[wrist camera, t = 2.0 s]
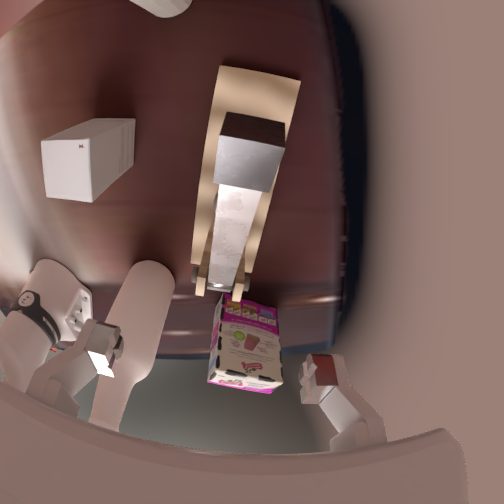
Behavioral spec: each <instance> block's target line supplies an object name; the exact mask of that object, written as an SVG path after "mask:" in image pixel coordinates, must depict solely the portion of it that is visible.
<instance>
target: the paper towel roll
mask: <svg viewBox="0 0 504 504" xmlns="http://www.w3.org/2000/svg"><path fill="white" fill-rule="evenodd" d="M130 1H132V2H134V3H135V4H137V5H139V6H141V7H142V8H144V9H146V10H147V11H149V12H151V13H152V14H154V15H156V16H158V17H163V18H167V17H174V16H176V15H178V14H180V13H182V12H184V11H185V10H186V9H187V8H188V7H189V6H190V4H191V2H192V0H130Z"/></svg>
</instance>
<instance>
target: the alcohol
mask: <svg viewBox="0 0 504 504" xmlns="http://www.w3.org/2000/svg"><path fill="white" fill-rule="evenodd" d="M174 288H175V281H174V278H173V276H172V274H171V272H170V271H169V270H168V269H167V268H166V267H165V266H164V265H162V264H161V263H159V262H156V261H151V260H145V261H141V262H138V263H136V264H135V265H133V266H132V268H131V269H130V271H129V273H128V275H127V277H126V279H125V281H124V283H123V285H122V287H121V289H120V291H119V293H118V295H117V297H116V299H115V301H114V303H113V306H112V308H111V310H110V312H109V314H108V316H107V319H106V321H105V323H108V324H112V325H116V326H120V329H121V333H120V335H121V336H122V337H123V340H124V348H123V353H122V356H121V357H120V358H119V359H118V360H117V363H118V368H117V371H116V374H115V377H111V376H107V375H104V374H100V376H99V381H98V384H97V389H96V393H95V398H94V402H93V407H92V413H91V417H90V418H89V422H90V423H93V424H95V425H98V426H101V427H104V428H107V429H110V430H114V431H117V432H119V428H118V427H119V424H120V421H121V418H122V415H123V412H124V409H125V406H126V403H127V400H128V398H129V395H130V392H131V389H132V387H133V386H134V384H135V383H136V382H139V381H140V380H142V379H144V378H145V377H146V376H147V375H148V374H149V372H150V370H151V369H152V367H153V364H154V360H155V356H156V352H157V348H158V344H159V341H160V337H161V333H162V329H163V326H164V322H165V319H166V315H167V312H168V308H169V305H170V302H171V298H172V295H173V292H174Z"/></svg>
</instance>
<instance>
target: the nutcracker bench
mask: <svg viewBox="0 0 504 504" xmlns="http://www.w3.org/2000/svg"><path fill="white" fill-rule="evenodd" d="M300 83H301V81H297V80H294V79H290V78H286V77H281V76H277V75H273V74H268V73H263V72H258V71H253V70H247V69H241V68H235V67H228V66H221V65H220V67H219V72H218V77H217V82H216V87H215V92H214V97H213V102H212V107H211V113H210V118H209V124H208V130H207V136H206V142H205V149H204V155H203V162H202V169H201V176H200V183H199V191H198V199H197V207H196V216H195V225H194V234H193V244H192V255H191V263H193V264H199V265H200V268H198V267H193V271H192V277H191V282H192V283H197V285H196V295H199V296H204V291H205V285H206V280H207V274H208V269H209V266H210V258H211V249H212V240H213V232H214V223H215V216H216V208H217V200H218V193H219V186H220V184H216V183H213V181H214V172H215V164H216V156H217V148H218V141H219V134H220V131H221V128H222V125H223V122H224V118H225V115H226V112H227V111H228V112H234V113H240V114H245V115H251V116H256V117H261V118H266V119H270V120H275V121H279V122H284V123H285V142H286V138H287V134H288V130H289V126H290V123H291V119H292V115H293V111H294V107H295V103H296V99H297V95H298V91H299V87H300ZM278 169H279V168H278ZM277 173H278V170H277ZM277 173H276V176H275V179H274V182H273V184H272V187H271V190H270V193H266V192H262V194H261V197H260V200H259V203H258V206H257V209H256V212H255V215H254V219H253V222H252V225H251V228H250V231H249V234H248V237H247V241H246V244H245V247H244V250H243V253H242V256H241V259H240V263H239V266H238V269H237V272H236V275H235V282H234V287H233V294H232V301H237V302H240V300H241V296H242V292H243V291H248V289H249V284H250V276H248V275H245V272H248V273H252V269H253V265H254V262H255V258H256V254H257V250H258V246H259V243H260V239H261V235H262V231H263V227H264V223H265V220H266V216H267V212H268V208H269V204H270V200H271V196H272V193H273V189H274V185H275V181H276V177H277Z"/></svg>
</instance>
